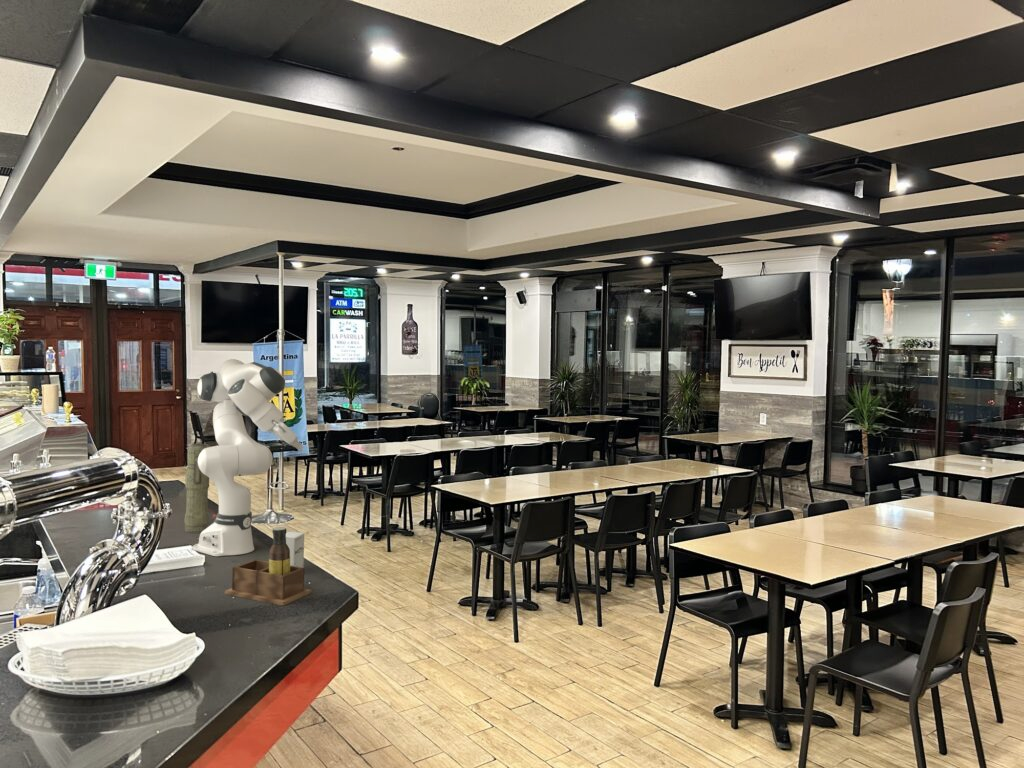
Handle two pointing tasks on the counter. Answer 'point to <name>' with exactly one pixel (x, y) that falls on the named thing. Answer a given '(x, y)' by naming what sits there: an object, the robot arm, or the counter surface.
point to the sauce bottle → (279, 553)
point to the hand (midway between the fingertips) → (298, 447)
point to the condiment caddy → (267, 583)
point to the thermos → (196, 493)
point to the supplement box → (296, 548)
